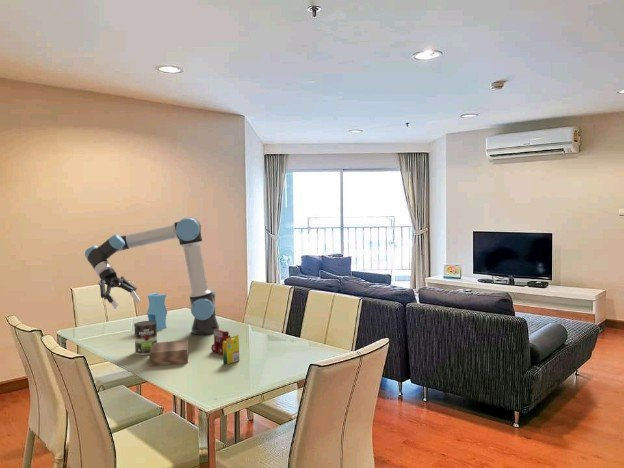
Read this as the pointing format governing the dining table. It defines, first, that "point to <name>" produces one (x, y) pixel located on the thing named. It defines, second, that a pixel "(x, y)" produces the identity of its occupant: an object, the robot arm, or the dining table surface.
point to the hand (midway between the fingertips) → (127, 304)
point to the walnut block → (169, 353)
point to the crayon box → (231, 350)
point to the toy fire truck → (219, 340)
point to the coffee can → (145, 336)
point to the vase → (157, 310)
